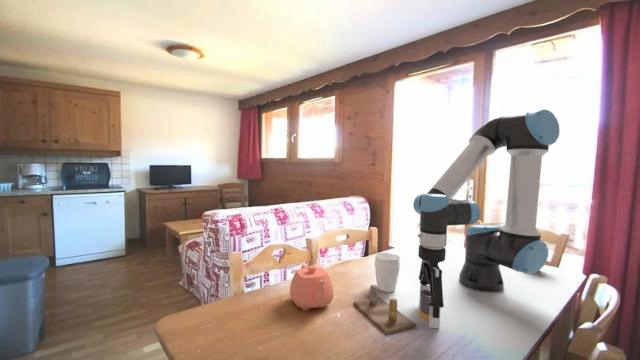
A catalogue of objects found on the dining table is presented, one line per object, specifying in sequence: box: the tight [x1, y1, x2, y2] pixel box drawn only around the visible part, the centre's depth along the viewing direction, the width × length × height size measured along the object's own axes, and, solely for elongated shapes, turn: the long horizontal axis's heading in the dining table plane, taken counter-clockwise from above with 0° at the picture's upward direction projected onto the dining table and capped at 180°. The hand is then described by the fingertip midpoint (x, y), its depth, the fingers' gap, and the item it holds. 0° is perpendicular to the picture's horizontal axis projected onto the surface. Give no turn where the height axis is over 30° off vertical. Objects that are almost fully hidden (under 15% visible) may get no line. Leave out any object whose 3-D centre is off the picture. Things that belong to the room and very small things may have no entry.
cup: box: [374, 252, 401, 293], centre depth 109 cm, size 9×9×12 cm
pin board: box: [352, 284, 417, 335], centre depth 90 cm, size 18×10×7 cm, turn 23°
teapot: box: [289, 264, 334, 312], centre depth 95 cm, size 13×20×12 cm, turn 21°
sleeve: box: [418, 289, 431, 321], centre depth 90 cm, size 5×5×7 cm
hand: (428, 315), depth 90 cm, fingers open, 12 cm apart
